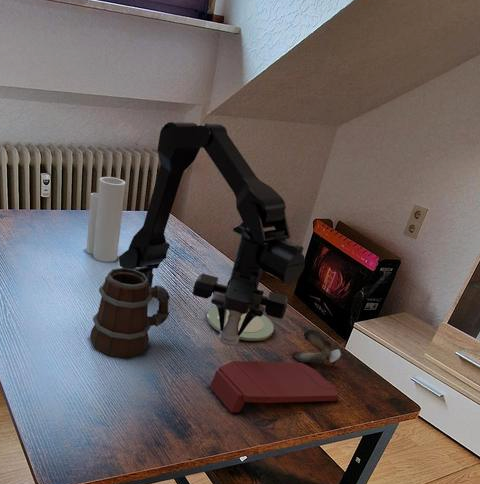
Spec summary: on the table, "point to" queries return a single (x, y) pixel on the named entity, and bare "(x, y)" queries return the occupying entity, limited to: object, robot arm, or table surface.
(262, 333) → the plate
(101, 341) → the mug
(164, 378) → the table surface
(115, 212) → the vase
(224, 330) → the rook chess piece
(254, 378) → the dark red wedge slab
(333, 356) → the eagle figurine
